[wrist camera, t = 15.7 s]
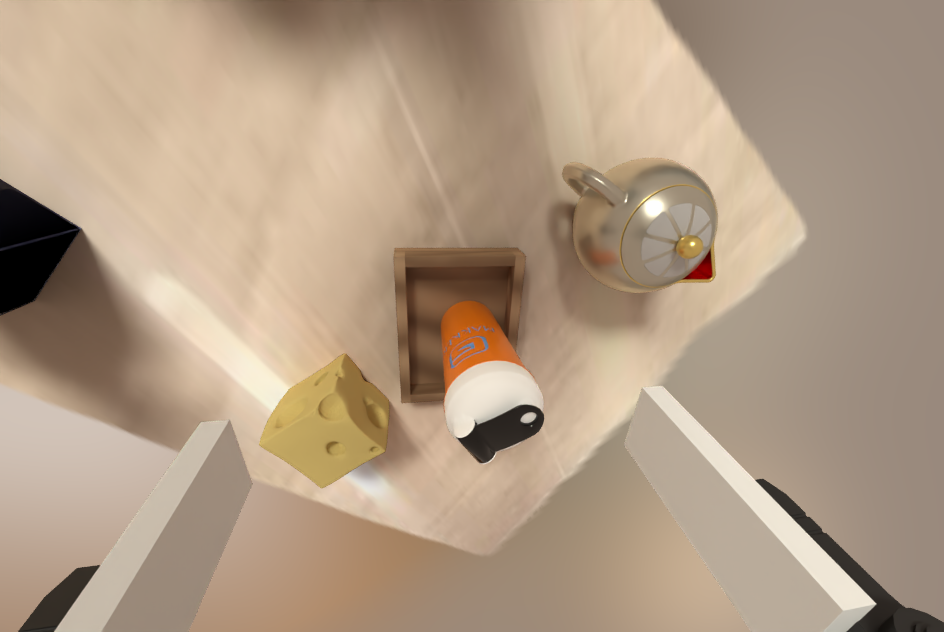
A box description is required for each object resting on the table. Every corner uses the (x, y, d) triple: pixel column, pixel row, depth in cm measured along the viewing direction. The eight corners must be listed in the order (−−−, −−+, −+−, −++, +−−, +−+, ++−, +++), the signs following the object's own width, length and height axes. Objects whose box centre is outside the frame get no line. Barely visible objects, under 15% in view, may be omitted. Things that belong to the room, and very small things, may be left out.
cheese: (345, 350, 48) (330, 398, 39) (394, 401, 52) (391, 455, 44) (282, 389, 49) (253, 444, 40) (336, 436, 54) (321, 495, 45)
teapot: (680, 203, 46) (805, 232, 31) (607, 288, 50) (689, 349, 35) (582, 106, 39) (683, 85, 25) (506, 212, 43) (556, 248, 29)
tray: (394, 248, 43) (393, 256, 40) (517, 247, 45) (525, 256, 42) (401, 386, 51) (401, 403, 48) (505, 380, 54) (511, 395, 51)
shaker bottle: (513, 325, 49) (574, 432, 31) (463, 365, 50) (493, 489, 32) (472, 279, 45) (514, 370, 27) (418, 324, 46) (424, 438, 28)
